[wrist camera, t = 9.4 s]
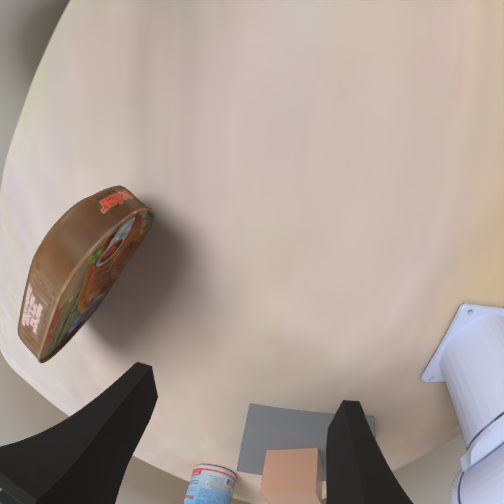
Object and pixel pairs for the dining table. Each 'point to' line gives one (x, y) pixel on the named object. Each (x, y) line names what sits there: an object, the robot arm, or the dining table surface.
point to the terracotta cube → (292, 476)
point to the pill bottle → (210, 485)
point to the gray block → (283, 434)
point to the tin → (79, 267)
